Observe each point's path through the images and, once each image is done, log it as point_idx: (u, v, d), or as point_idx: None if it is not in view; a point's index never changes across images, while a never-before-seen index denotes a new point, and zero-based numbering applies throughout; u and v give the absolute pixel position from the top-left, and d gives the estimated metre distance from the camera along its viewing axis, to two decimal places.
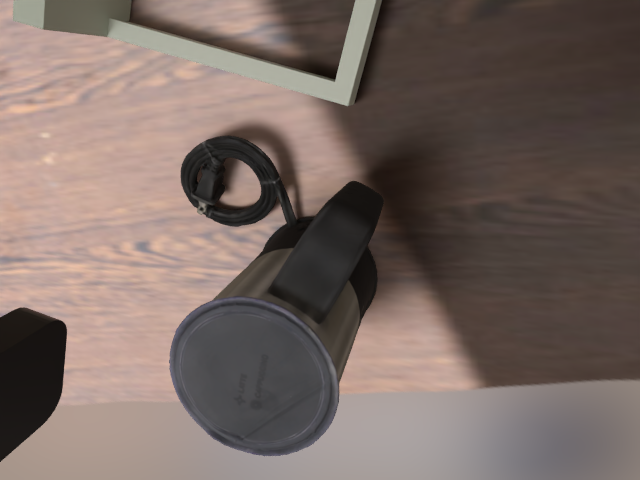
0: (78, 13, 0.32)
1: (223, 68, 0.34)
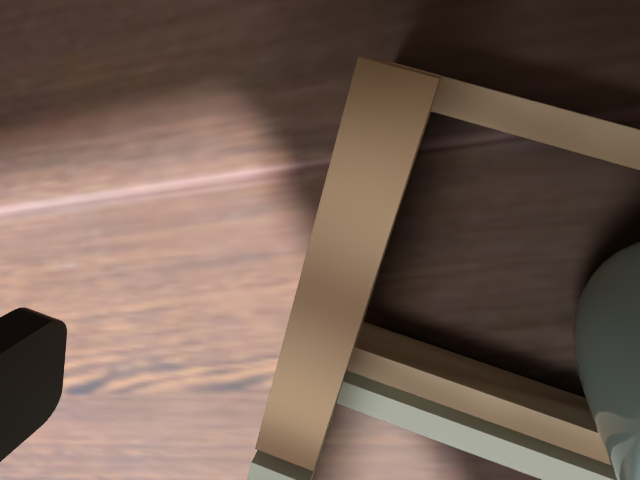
0: None
1: None
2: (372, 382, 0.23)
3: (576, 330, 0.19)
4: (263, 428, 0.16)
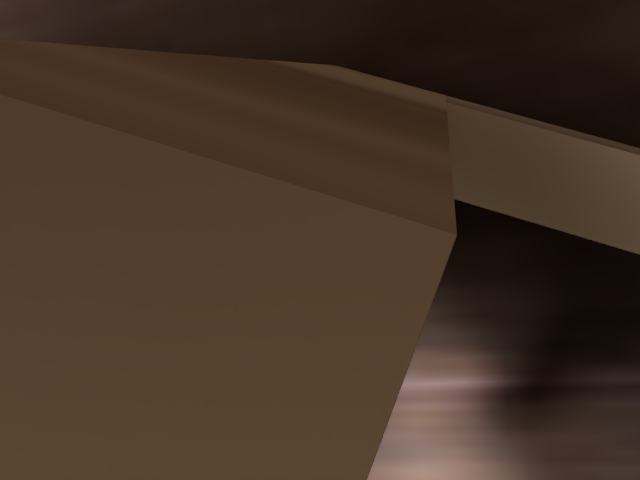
0: None
1: None
2: None
3: None
4: None
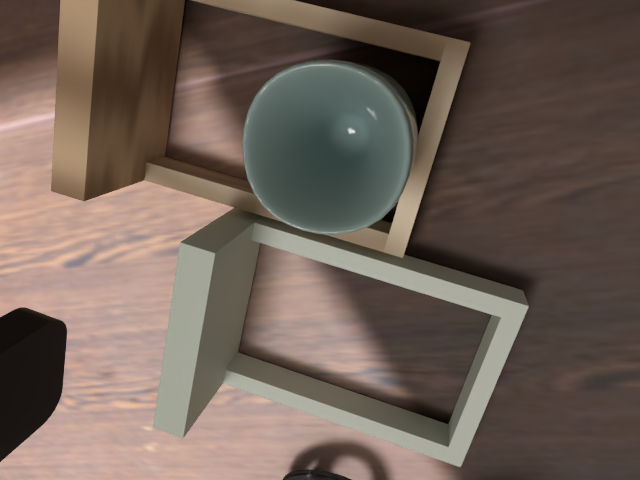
0: (206, 395, 0.33)
1: (337, 422, 0.35)
2: (276, 225, 0.33)
3: None
4: (53, 175, 0.28)
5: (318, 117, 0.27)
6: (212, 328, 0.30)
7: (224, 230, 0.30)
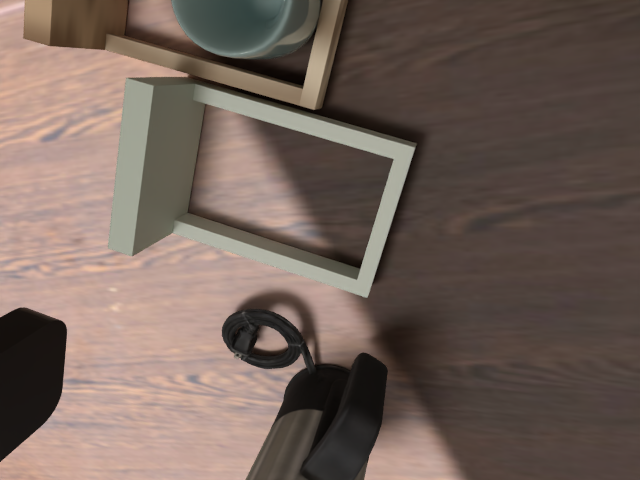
0: (154, 230, 0.40)
1: (267, 263, 0.42)
2: (213, 88, 0.39)
3: None
4: (25, 24, 0.34)
5: None
6: (156, 163, 0.37)
7: (166, 81, 0.37)
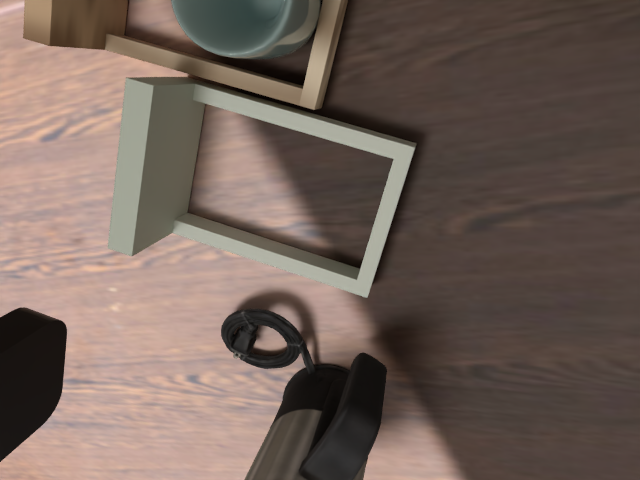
0: (154, 230, 0.40)
1: (267, 263, 0.42)
2: (213, 88, 0.39)
3: None
4: (24, 24, 0.34)
5: None
6: (156, 163, 0.37)
7: (166, 81, 0.37)
